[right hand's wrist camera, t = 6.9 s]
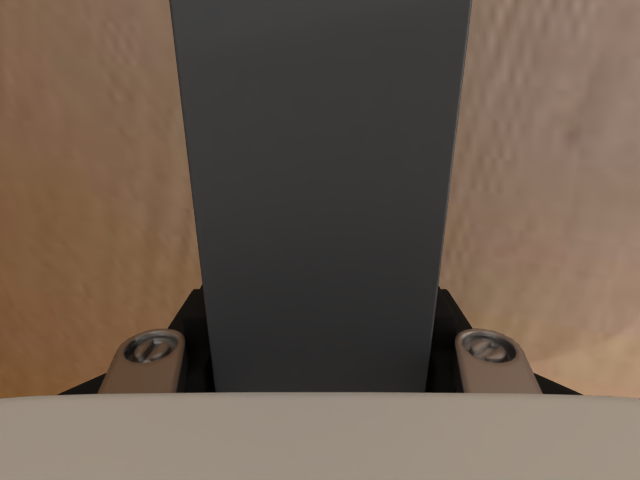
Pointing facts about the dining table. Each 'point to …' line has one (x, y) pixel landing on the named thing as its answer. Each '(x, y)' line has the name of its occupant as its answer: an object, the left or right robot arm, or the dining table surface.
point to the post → (320, 184)
